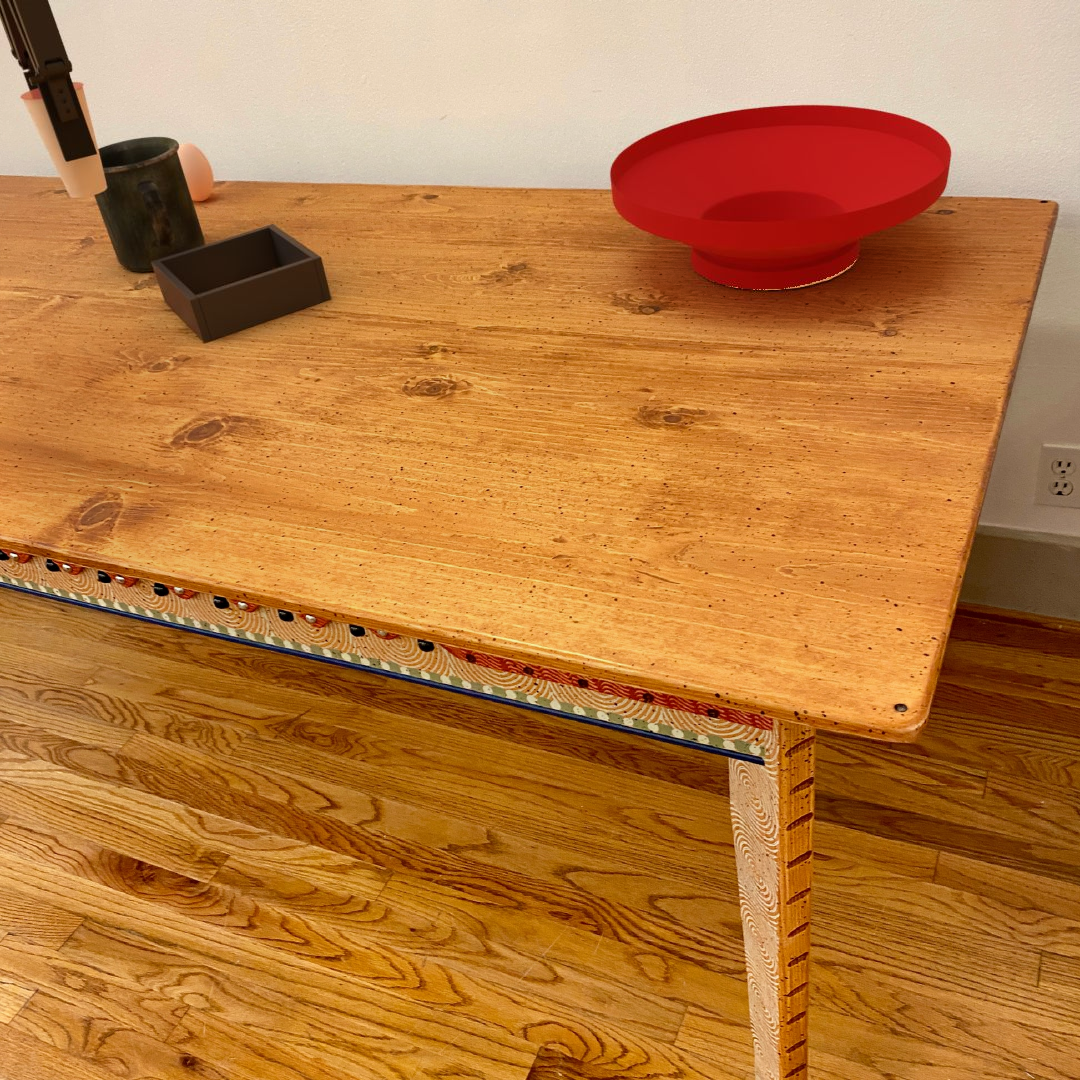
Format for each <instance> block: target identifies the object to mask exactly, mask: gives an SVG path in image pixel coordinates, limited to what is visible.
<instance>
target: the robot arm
mask: <svg viewBox="0 0 1080 1080" xmlns="http://www.w3.org/2000/svg"><path fill="white" fill-rule="evenodd" d="M0 21H1V24H2V27H3V30H4V33H5V35H6V38H7V41H8V43H9V46H10V53H11V55H12V56H13V58H14V59H15V60H17V64H18V67H20V68H21V70H22V71H23V72H22V74H23V77H24V79H25V82H26V84H27V88H28V90H29V91H31V90H34V89H37V88H39V91H40V94H41V97H42V99H43V102H44V105H45V107H46V110H47V113H48V116H49V118H50V121H51V124H52V127H53V129H54V132H55V135H56V138H57V140H58V143H59V146H60V148H61V151H62V154H63V157H64V159H65V161H66V162H69V161H73V160H77V159H80V158H84V157H88V156H92V155H96V154H97V151H96V149H95V146H94V143H93V140H92V137H91V134H90V131H89V128H88V126H87V123H86V120H85V117H84V114H83V111H82V108H81V105H80V103H79V100H78V97H77V94H76V91H75V88H74V85H73V82H74V81H73V79H72V77H71V74H70V73H72V72H73V69H74V68H73V63H72V61H71V60H70V58H69V56H68V53H67V49H66V47H65V45H64V41H63V39H62V36H61V34H60V31H59V28H58V25H57V21H56V19H55V16H54V13H53V11H52V8H51V4H50V2H49V0H0ZM26 70H27V71H26Z"/></svg>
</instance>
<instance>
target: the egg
mask: <svg viewBox="0 0 1080 1080" xmlns="http://www.w3.org/2000/svg"><path fill="white" fill-rule="evenodd" d="M177 152H178V156H179V159H180V162H181V166H182V169H183V172H184V175H185V178H186V182H187V185H188V188H189V191H190V194H191V198H192V201H195V202H203V201H206V200H207V199H209V197H210V196H211V194H212V192H213V189H214V183H215V180H214V173H213V169H212V166H211V164H210V162H209V159H208V158H207V157H206V156H205V154H204V153H203V152H202V150H201V149H200V148H199V147H198V146H196V145H195V144H193V143H191V142H182V143H181V144H179V149H178V151H177Z"/></svg>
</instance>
